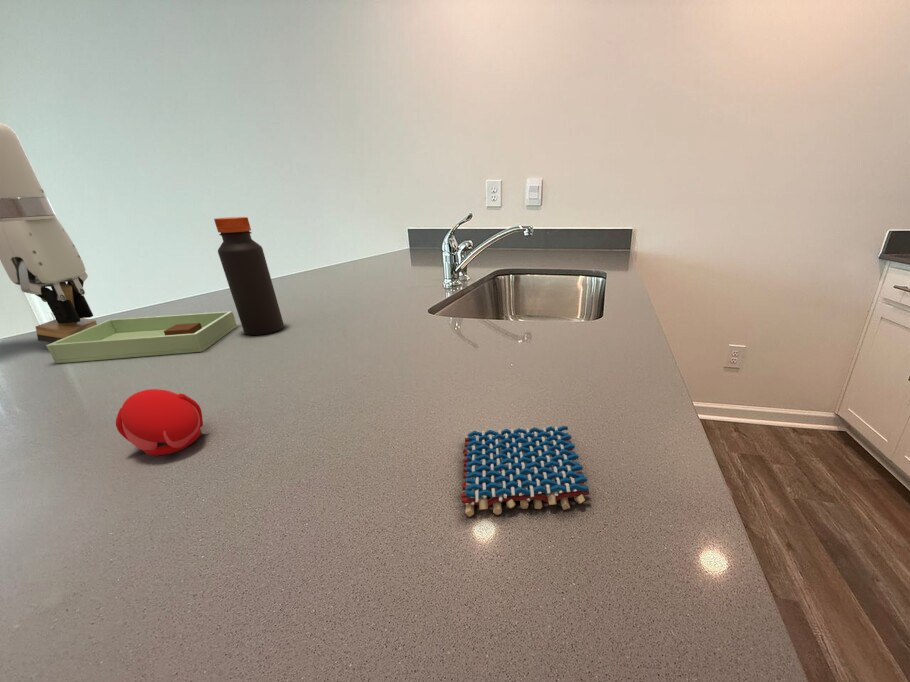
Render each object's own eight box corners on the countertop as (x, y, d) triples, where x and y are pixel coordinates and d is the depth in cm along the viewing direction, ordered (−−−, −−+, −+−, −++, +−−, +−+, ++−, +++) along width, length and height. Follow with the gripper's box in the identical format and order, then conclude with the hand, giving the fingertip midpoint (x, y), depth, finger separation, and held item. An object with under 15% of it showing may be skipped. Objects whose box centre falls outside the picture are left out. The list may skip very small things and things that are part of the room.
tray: (55, 363, 65) (45, 345, 63) (116, 335, 77) (108, 319, 76) (202, 351, 68) (195, 334, 67) (237, 326, 81) (232, 311, 79)
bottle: (272, 335, 75) (238, 218, 66) (236, 336, 75) (197, 219, 66) (291, 324, 81) (261, 216, 72) (257, 325, 81) (224, 217, 72)
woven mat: (464, 444, 42) (462, 427, 41) (566, 438, 42) (567, 421, 41) (459, 518, 32) (458, 498, 31) (591, 509, 33) (593, 489, 32)
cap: (226, 435, 44) (206, 385, 42) (167, 467, 39) (140, 413, 37) (179, 422, 47) (158, 375, 44) (118, 450, 42) (90, 399, 39)
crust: (167, 342, 71) (163, 331, 70) (180, 334, 75) (175, 324, 74) (193, 340, 72) (189, 329, 71) (204, 333, 75) (200, 322, 74)
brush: (69, 345, 72) (62, 293, 69) (37, 340, 71) (28, 286, 68) (97, 333, 79) (92, 284, 75) (68, 328, 77) (61, 278, 74)
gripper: (35, 209, 72) (85, 310, 81) (-60, 214, 58) (12, 336, 66) (83, 207, 74) (128, 307, 82) (1, 212, 59) (65, 332, 67)
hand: (76, 319), depth 74 cm, fingers closed on brush, 2 cm apart
